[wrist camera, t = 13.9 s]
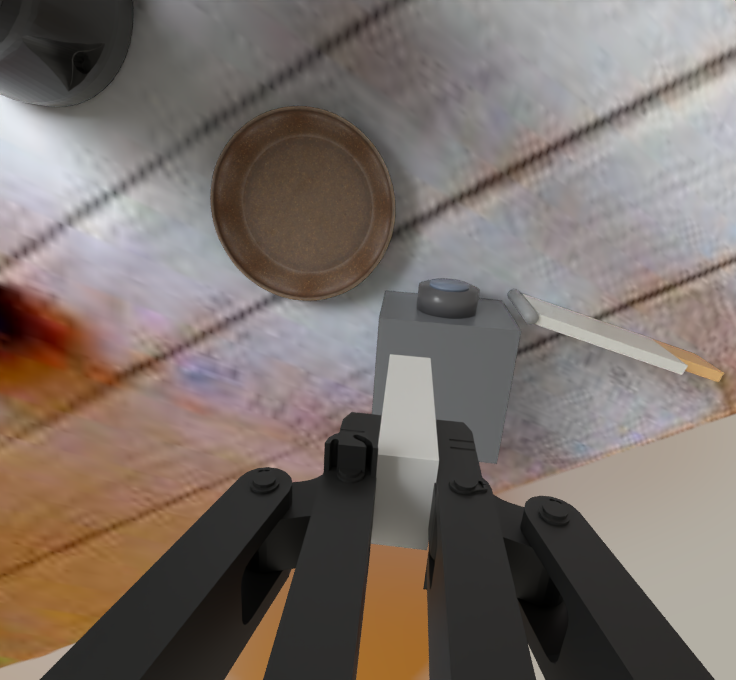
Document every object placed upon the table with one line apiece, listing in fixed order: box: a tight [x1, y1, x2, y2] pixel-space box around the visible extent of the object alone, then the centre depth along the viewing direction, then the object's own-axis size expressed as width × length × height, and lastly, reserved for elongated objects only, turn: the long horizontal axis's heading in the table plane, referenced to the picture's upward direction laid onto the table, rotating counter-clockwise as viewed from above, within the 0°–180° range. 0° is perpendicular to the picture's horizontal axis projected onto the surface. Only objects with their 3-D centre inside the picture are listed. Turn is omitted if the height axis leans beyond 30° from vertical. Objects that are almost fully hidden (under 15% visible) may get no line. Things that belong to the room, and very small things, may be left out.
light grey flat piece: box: [508, 289, 724, 382], centre depth 38 cm, size 16×1×7 cm, turn 72°
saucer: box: [210, 106, 395, 301], centre depth 39 cm, size 15×15×3 cm
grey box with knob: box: [372, 279, 521, 464], centre depth 39 cm, size 13×10×9 cm
